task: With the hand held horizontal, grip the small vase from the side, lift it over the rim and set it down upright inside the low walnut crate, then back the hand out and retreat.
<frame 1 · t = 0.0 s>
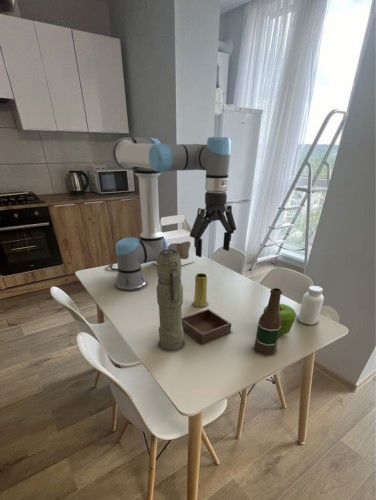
hand: (212, 253, 110), 28 cm above the table, tool pointing down, fingers open, 13 cm apart
apple: (275, 331, 116), on the table
thermos: (171, 344, 108), on the table
pill bottle: (307, 320, 124), on the table
gable box: (173, 263, 181), on the table
crate: (205, 329, 116), on the table
beer bottle: (264, 349, 106), on the table
vase: (200, 304, 135), on the table
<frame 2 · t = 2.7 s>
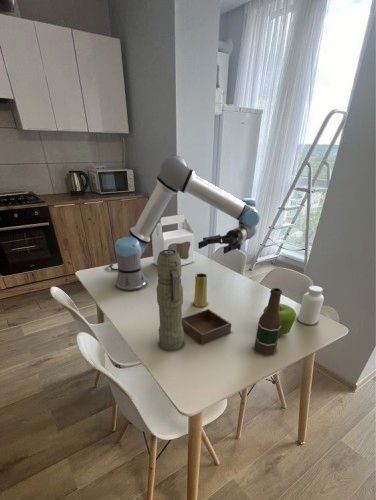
hand: (211, 247, 127), 24 cm above the table, tool horizontal, fingers open, 13 cm apart
nothing on the table moved.
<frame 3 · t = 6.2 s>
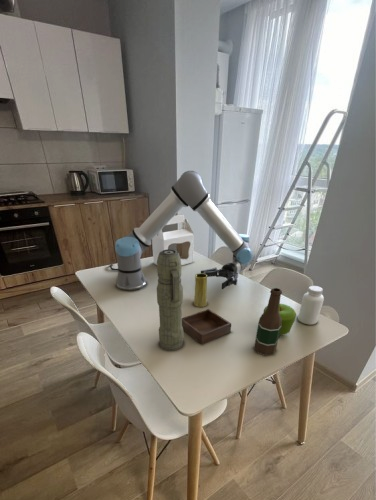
hand: (210, 282, 136), 8 cm above the table, tool horizontal, fingers open, 13 cm apart
nothing on the table moved.
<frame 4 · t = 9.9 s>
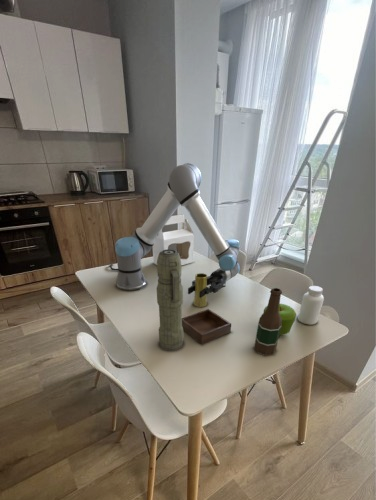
hand: (194, 293, 127), 8 cm above the table, tool horizontal, fingers closed on vase, 5 cm apart
vase: (200, 304, 135), on the table, touching gripper
everything else where it was.
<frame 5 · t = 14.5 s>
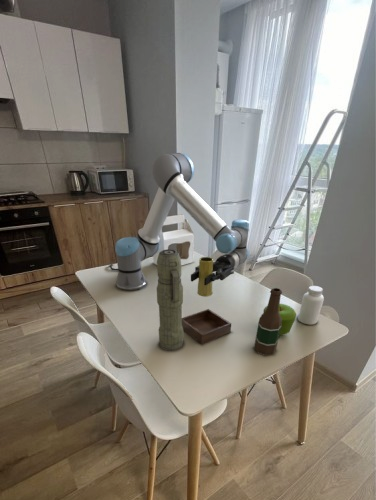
hand: (198, 279, 108), 20 cm above the table, tool horizontal, fingers closed on vase, 5 cm apart
vase: (204, 293, 116), point 12 cm above the table, touching gripper
everything else where it was.
when the fingers open (8 cm above the table, at t = 19.2 s): vase stays where it is, resting on crate.
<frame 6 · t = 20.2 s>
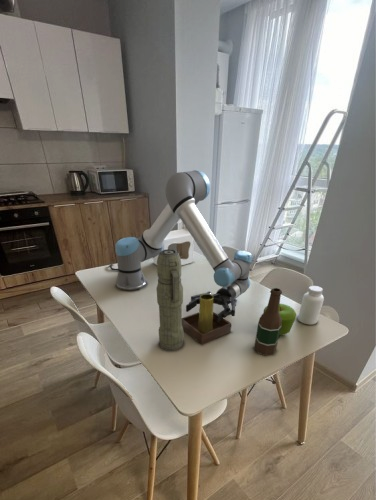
hand: (201, 313, 109), 9 cm above the table, tool horizontal, fingers open, 13 cm apart
vase: (205, 329, 116), resting on crate
everything else where it was.
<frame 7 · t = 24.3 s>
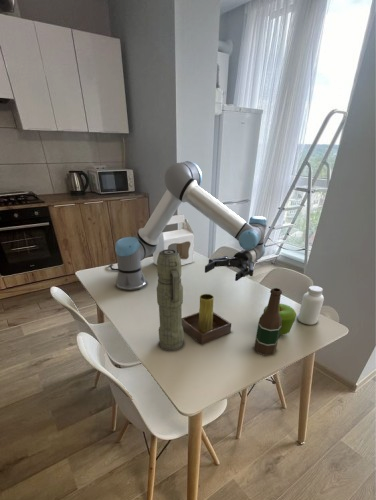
hand: (220, 273, 111), 21 cm above the table, tool horizontal, fingers open, 13 cm apart
nothing on the table moved.
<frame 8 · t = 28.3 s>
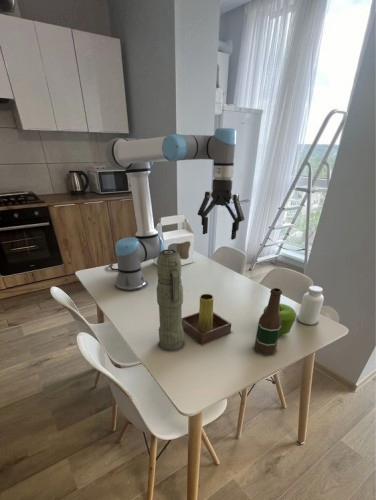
hand: (218, 236, 120), 31 cm above the table, tool pointing down, fingers open, 13 cm apart
nothing on the table moved.
at the end: vase inside the target area in the crate (0.0 cm from its centre), point 0.4 cm above the crate's base; vase tilted 0°; the gripper is holding nothing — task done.
